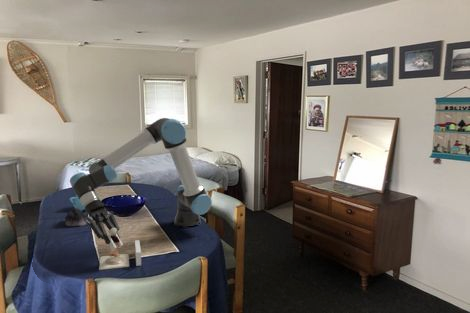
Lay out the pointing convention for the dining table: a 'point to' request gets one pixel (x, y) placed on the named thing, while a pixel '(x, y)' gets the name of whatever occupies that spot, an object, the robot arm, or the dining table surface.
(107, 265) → the resting pad
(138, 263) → the low wall
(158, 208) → the dining table surface
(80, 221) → the crystal cluster
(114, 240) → the grandmother figurine
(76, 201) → the teapot
